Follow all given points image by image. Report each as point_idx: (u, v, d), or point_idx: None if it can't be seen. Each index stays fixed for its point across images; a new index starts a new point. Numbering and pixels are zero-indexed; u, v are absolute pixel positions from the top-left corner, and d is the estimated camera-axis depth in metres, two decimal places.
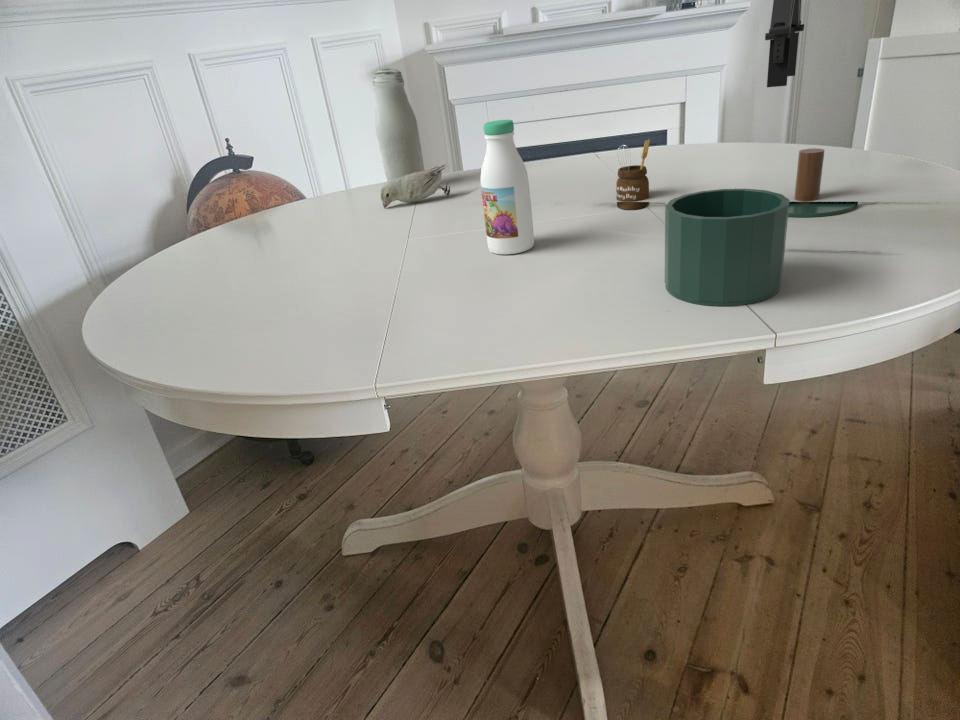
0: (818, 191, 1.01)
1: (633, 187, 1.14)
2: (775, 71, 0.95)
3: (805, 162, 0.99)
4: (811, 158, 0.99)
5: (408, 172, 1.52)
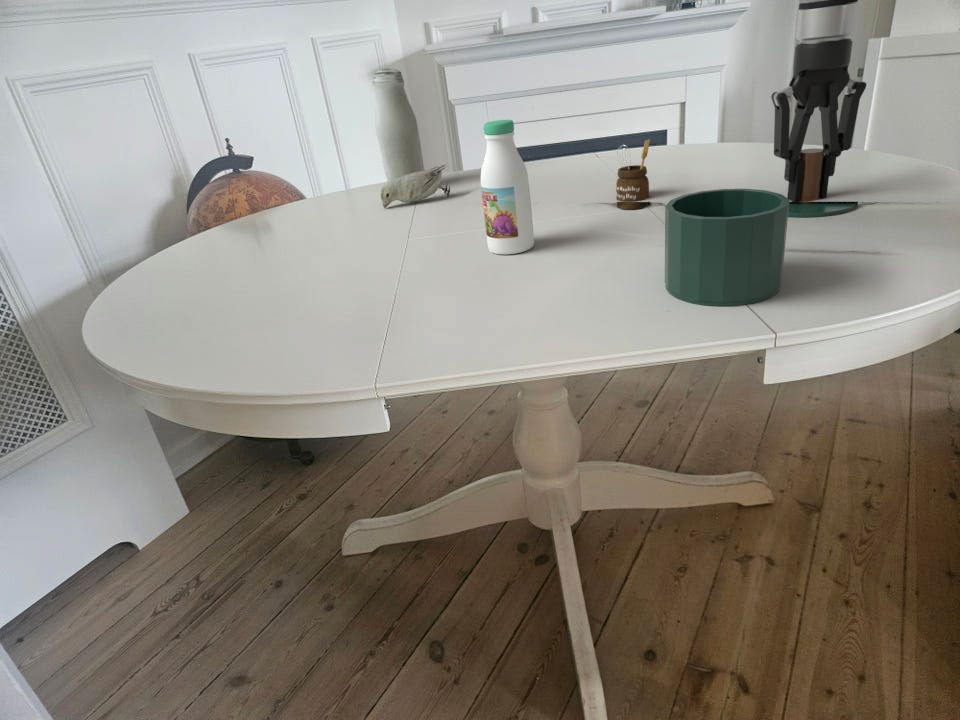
0: (818, 191, 1.01)
1: (633, 187, 1.14)
2: (791, 187, 1.02)
3: (805, 162, 0.99)
4: (811, 158, 0.99)
5: (408, 172, 1.52)
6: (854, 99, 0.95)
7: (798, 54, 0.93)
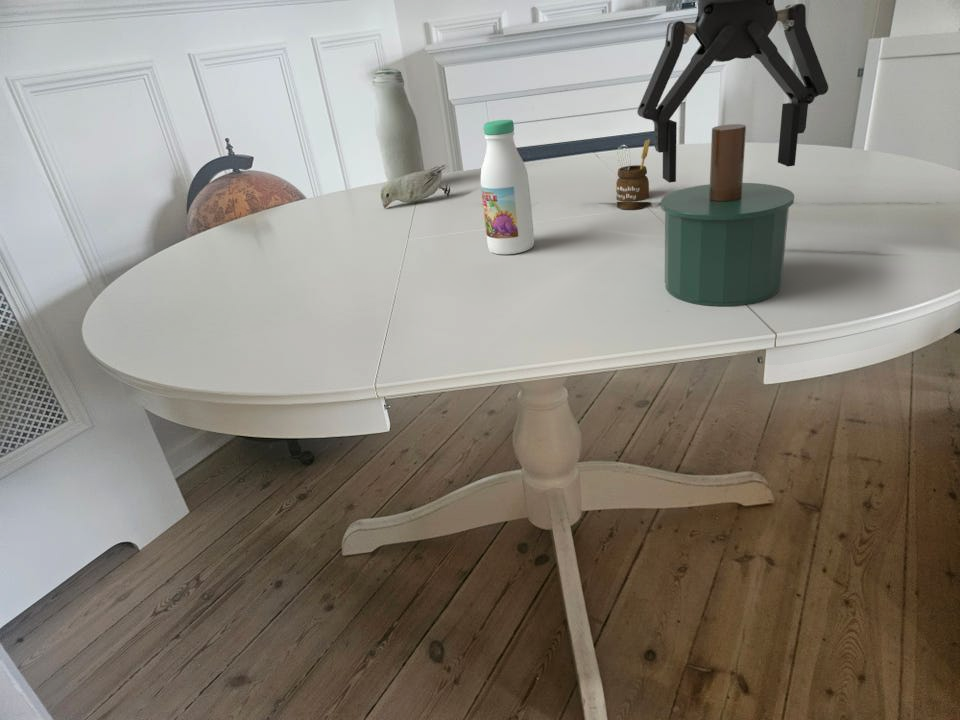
0: (740, 184, 0.73)
1: (633, 187, 1.14)
2: (665, 160, 0.73)
3: (720, 143, 0.71)
4: (727, 137, 0.70)
5: (408, 172, 1.52)
6: (798, 31, 0.66)
7: None
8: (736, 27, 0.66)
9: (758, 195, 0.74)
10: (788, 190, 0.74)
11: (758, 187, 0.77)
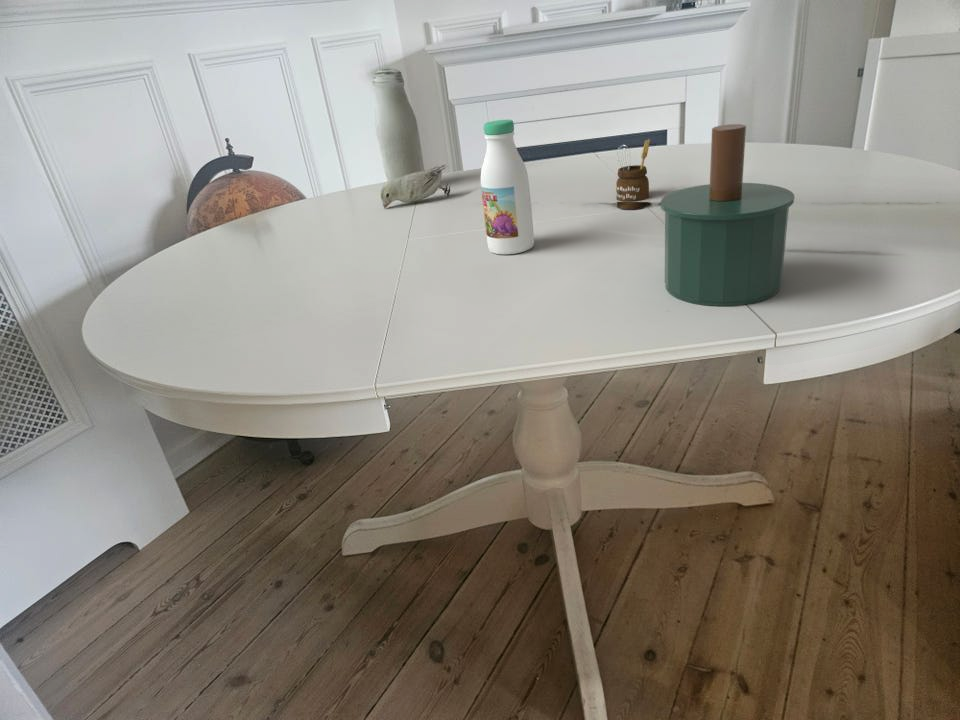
0: (740, 184, 0.73)
1: (633, 187, 1.14)
2: None
3: (720, 143, 0.71)
4: (727, 137, 0.70)
5: (408, 172, 1.52)
6: None
7: None
8: None
9: (758, 195, 0.74)
10: (788, 190, 0.74)
11: (758, 187, 0.77)
